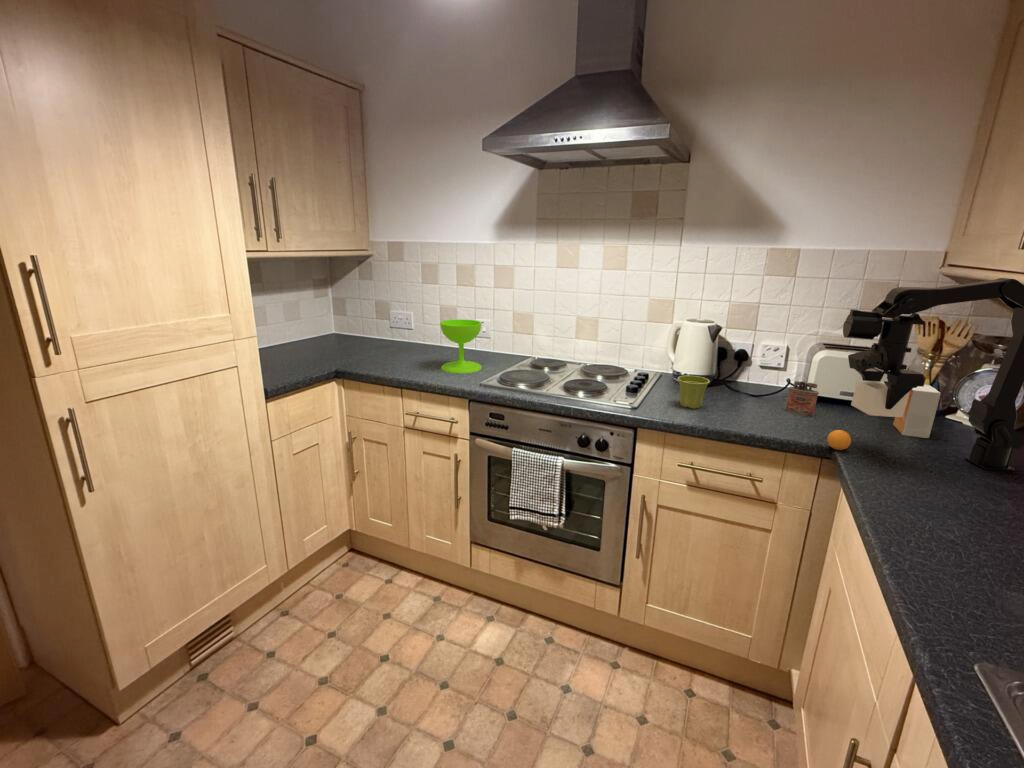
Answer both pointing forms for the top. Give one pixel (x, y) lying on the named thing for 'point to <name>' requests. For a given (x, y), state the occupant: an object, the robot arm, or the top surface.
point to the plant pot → (692, 390)
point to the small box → (919, 412)
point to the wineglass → (461, 343)
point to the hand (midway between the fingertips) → (877, 403)
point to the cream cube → (876, 399)
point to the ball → (839, 439)
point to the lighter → (802, 398)
